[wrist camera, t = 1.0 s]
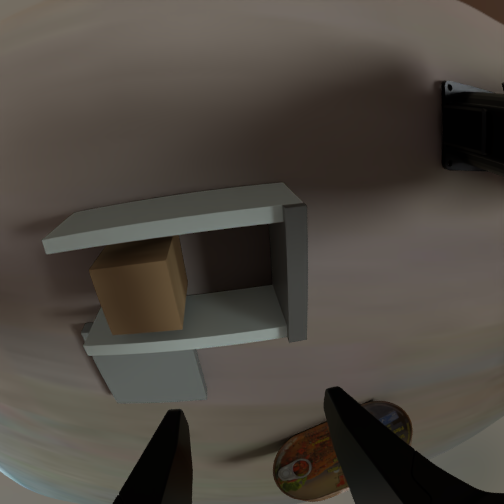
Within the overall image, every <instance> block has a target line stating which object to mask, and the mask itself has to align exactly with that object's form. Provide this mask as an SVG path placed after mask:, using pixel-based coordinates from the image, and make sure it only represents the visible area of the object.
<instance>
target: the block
mask: <svg viewBox="0 0 504 504" xmlns="http://www.w3.org/2000/svg"><path fill="white" fill-rule="evenodd" d="M89 273H90V276H91V279H92V282H93V285H94V288H95V291H96V293H97V296H98V299H99V302H100V304H101V307H102V310H103V312H104V315H105V318H106V320H107V323H108V325H109V328H110V330H111V333H112V335H124V334H138V333H150V332H162V331H173V330H183V321H184V312H185V302H186V293H187V285H188V280H187V276H186V271H185V266H184V261H183V255H182V250H181V245H180V239H179V235H173V236H166V237H159V238H152V239H145V240H138V241H131V242H124V243H117V244H110V245H106V247H105V248H104V249H103V251H102V252H101V253H100V255H99V256H98V258H97V259H96V261H95V262H94V263H93V265H92V266H91V268H90V269H89Z"/></svg>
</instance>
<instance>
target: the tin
mask: <svg viewBox="0 0 504 504" xmlns="http://www.w3.org/2000/svg"><path fill="white" fill-rule="evenodd" d="M361 406H363V407H364V408H365V409H366V410H367V411H369V412H370V413H371V414H372V415H373V416H375V417H376V418H377V419H378V420H379V421H381V422H382V423H383V424H384V425H385V426H387V427H388V428H389V429H390V430H391V431H393V432H394V433H395V434H396V435H397V436H399V437H400V438H401V439H402V440H404V441H405V442H406V443H407V444H409V445H410V446H411V442H412V433H413V430H412V423H411V420H410V418H409V416H408V415H407V413H406V412H405V411H404V410H403V409H402V408H400V407H399V406H397V405H395V404H393V403H390V402H386V401H372V402H368V403H364V404H362V405H361ZM273 476H274V480H275V482H276V484H277V486H278V487H279V489H280V490H281V491H282V492H283V493H284V494H286V495H287V496H289V497H291V498H294V499H298V500H303V501H310V502H315V501H321V500H325V499H328V498H331V497H333V496H336V495H339V494H341V493H343V492H346V491H348V490H350V489H349V486H348V484H347V481H346V479H345V476H344V474H343V471H342V469H341V466H340V464H339V461H338V459H337V456H336V453H335V451H334V447H333V444H332V439H331V435H330V431H329V427H328V423H327V422H325V423H323V424H320V425H318V426H316V427H313V428H311V429H309V430H306V431H304V432H301V433H299V434H297V435H295V436H294V437H292V438H290V439H289V440H288V441H287V442H286V443H285V444H284V445H283V446H282V447H281V448H280V450H279V451H278V453H277V455H276V457H275V460H274V465H273Z"/></svg>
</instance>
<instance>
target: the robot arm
mask: <svg viewBox="0 0 504 504" xmlns="http://www.w3.org/2000/svg"><path fill="white" fill-rule="evenodd" d="M447 86H449V90H448V88H447ZM502 87H503V90H504V83H502ZM441 88H442V112H443V144H442V166H443V167H444V169H447V170H464V171H489V172H492V173H495V174H498V175H500V176H503V177H504V94H497V93H493V92H490V91H487V90H483V89H480V88H476V87H472V86H469V85H465V84H461V83H457V82H453V81H443V82H442V86H441ZM448 161H449V164H448ZM324 411H325V415H326V419H327V423H328V427H329V431H330V435H331V439H332V444H333V447H334V451H335V453H336V456H337V459H338V461H339V464H340V466H341V469H342V471H343V474H344V476H345V479H346V481H347V484H348V486H349V489H350V491H351V494H352V497H353V499H354V502H355V504H504V493H491V492H485V491H482V490H479V489H476V488H474V487H472V486H471V485H469V484H467V483H465V482H463V481H461V480H460V479H458V478H456V477H454V476H453V475H451V474H449V473H447V472H446V471H444V470H442V469H441V468H439V467H437V466H436V465H435V464H433V463H432V462H430V461H429V460H428V459H426V458H425V457H424V456H422V455H421V454H420V453H419V452H417V451H415V450H414V448H412V447H411V446H410V445H409V444H407V443H406V442H405V441H404V440H402V439H401V438H400V437H399V436H397V435H396V434H395V433H394V432H393V431H391V430H390V429H389V428H388V427H387V426H385V425H384V424H383V423H382V422H381V421H379V420H378V419H377V418H376V417H375V416H373V415H372V414H371V413H370V412H369V411H367V410H366V409H365V408H364V407H363V406H361V405H360V404H359V403H358V402H357V401H356V400H354V399H353V398H352V397H351V396H350V395H349V394H347V393H346V392H345V391H344V390H343V389H342V388H340V387H338V386H336V387H331V388H327V389H326V391H325V397H324ZM192 480H193V469H192V457H191V446H190V434H189V426H188V422H187V420H186V418H185V415H184V413H183V411H182V410H181V409H171V410H168V411H167V413H166V415H165V416H164V418H163V420H162V421H161V423H160V425H159V427H158V428H157V430H156V432H155V433H154V435H153V437H152V438H151V440H150V442H149V443H148V445H147V447H146V449H145V450H144V452H143V454H142V455H141V457H140V459H139V460H138V462H137V464H136V465H135V467H134V469H133V470H132V472H131V474H130V475H129V477H128V479H127V480H126V482H125V484H124V485H123V487H122V489H121V490H120V492H119V495H117V497H116V499H115V500H114V502H113V504H192Z"/></svg>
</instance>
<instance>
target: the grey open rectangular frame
mask: <svg viewBox="0 0 504 504" xmlns="http://www.w3.org/2000/svg"><path fill="white" fill-rule="evenodd" d="M260 224H269V235H270V251H271V267H272V283H273V285H268V286H260V287H253V288H245V289H238V290H230V291H222V292H214V293H206V294H198V295H189V296H186V302H185V312H184V321H183V330H173V331H162V332H150V333H138V334H124V335H112V333H111V330H110V328H109V325H108V323H107V320H106V318H105V315H104V312H103V310H102V307H101V308H100V310H99V312H98V314H97V316H96V319H95V321H94V323H93V325H92V327H91V329H90V332H89V334H88V336H87V338H86V341H85V343H84V345H83V347H84V349H85V351H86V353H87V355H88V356H98V355H123V354H141V353H156V352H169V351H180V350H191V349H201V348H210V347H219V346H227V345H235V344H243V343H250V342H257V341H264V340H271V339H277V338H283V337H287V338H288V341H289V342H295V341H301V340H307V302H308V235H307V206H306V205H305V204H304V203H303V202H302V201H301V200H300V199H299V198H298V197H297V196H296V195H295V194H294V193H293V192H292V191H291V190H290V189H289V188H288V187H287V186H286V185H285V184H284V183H283V182H280V183H270V184H260V185H250V186H241V187H232V188H224V189H216V190H208V191H200V192H193V193H186V194H179V195H172V196H165V197H159V198H152V199H146V200H140V201H134V202H128V203H122V204H116V205H111V206H105V207H100V208H95V209H90V210H84V211H79V212H75V213H73V214H72V215H71V216H69V217H68V218H67V219H66V220H64V221H63V222H62V223H61V224H60V225H59V226H57V227H56V228H55V229H54V230H53V231H52V232H50V233H49V234H48V235H47V236H46V237H45V238H44V239H42V243H43V246H44V249H45V252H46V255H47V254H53V253H59V252H65V251H71V250H78V249H84V248H90V247H97V246H104V245H110V244H117V243H124V242H131V241H138V240H145V239H152V238H159V237H166V236H173V235H181V234H188V233H196V232H204V231H211V230H219V229H227V228H235V227H243V226H252V225H260Z"/></svg>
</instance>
